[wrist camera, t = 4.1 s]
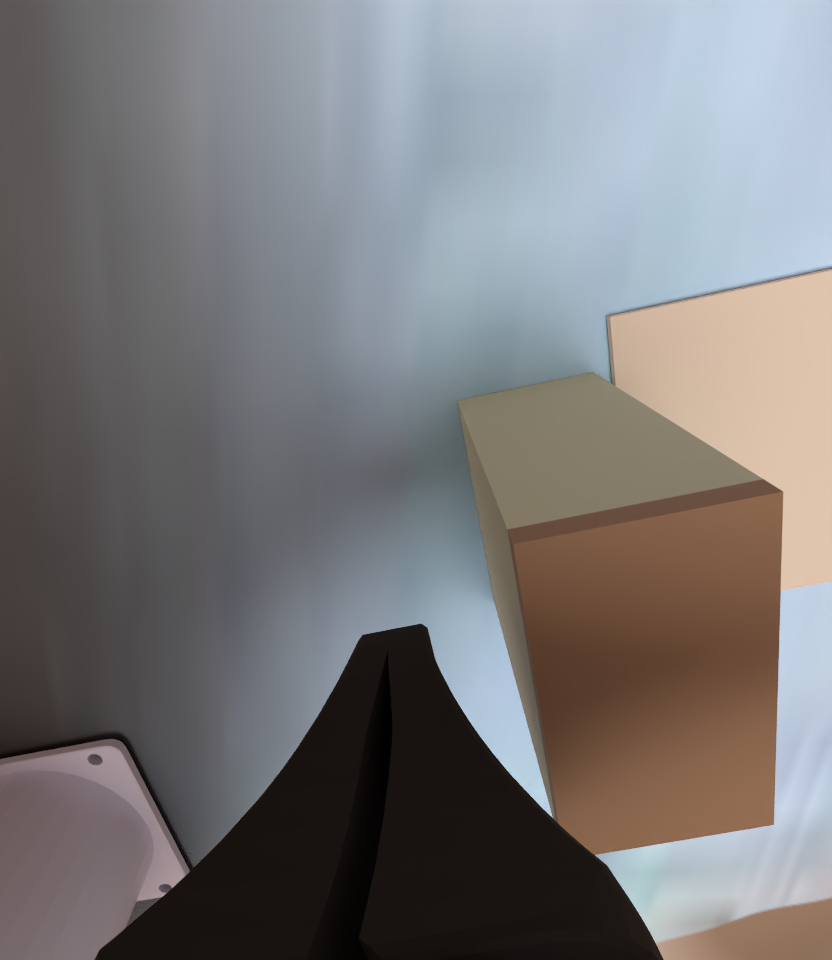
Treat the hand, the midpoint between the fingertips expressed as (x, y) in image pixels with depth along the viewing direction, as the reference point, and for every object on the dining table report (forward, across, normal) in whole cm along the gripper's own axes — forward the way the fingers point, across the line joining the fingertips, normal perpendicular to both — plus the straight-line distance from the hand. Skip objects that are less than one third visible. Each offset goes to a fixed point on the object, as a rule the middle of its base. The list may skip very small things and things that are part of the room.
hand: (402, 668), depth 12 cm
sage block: (+7, -4, 0) cm, 8 cm away
